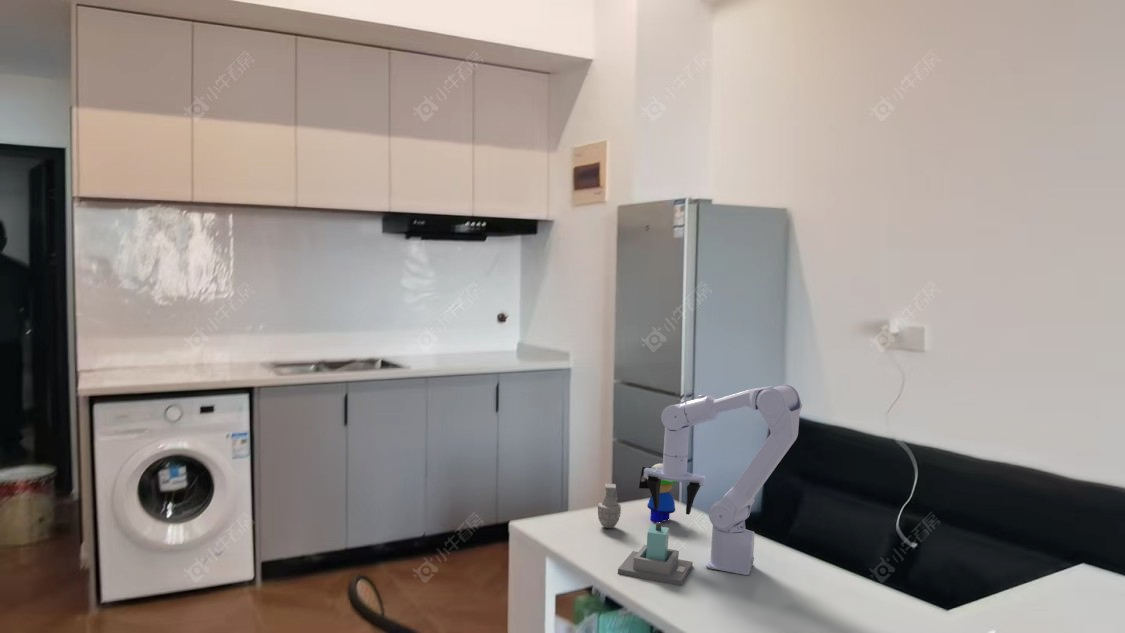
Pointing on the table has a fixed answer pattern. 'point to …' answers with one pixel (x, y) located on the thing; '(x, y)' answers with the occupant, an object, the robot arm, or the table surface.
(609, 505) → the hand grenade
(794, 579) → the table surface
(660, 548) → the plug
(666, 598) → the table surface
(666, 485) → the toy
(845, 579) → the table surface
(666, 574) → the socket block
